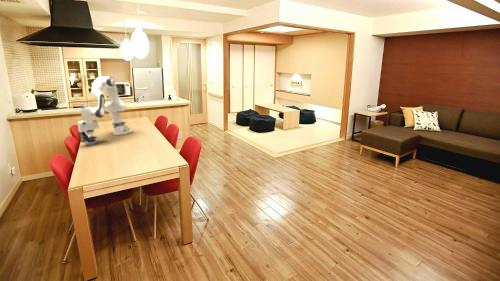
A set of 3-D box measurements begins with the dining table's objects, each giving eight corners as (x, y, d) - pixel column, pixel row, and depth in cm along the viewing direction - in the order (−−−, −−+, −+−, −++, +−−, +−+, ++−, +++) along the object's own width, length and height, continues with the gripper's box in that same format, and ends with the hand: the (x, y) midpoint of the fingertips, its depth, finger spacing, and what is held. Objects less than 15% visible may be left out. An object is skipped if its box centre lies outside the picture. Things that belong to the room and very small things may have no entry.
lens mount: (93, 142, 295) (92, 138, 294) (98, 143, 291) (97, 140, 290) (85, 144, 288) (84, 141, 287) (90, 145, 284) (89, 142, 282)
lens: (91, 136, 290) (90, 129, 288) (94, 137, 288) (92, 130, 286) (87, 137, 286) (85, 130, 284) (89, 138, 284) (88, 131, 282)
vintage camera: (92, 142, 295) (90, 125, 289) (80, 141, 298) (78, 124, 292) (99, 140, 304) (96, 123, 298) (87, 139, 307) (84, 122, 301)
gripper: (95, 119, 292) (97, 131, 296) (76, 123, 275) (78, 135, 279) (98, 119, 289) (101, 132, 293) (79, 123, 272) (82, 136, 276)
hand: (89, 134), depth 286 cm, fingers closed on lens, 5 cm apart
